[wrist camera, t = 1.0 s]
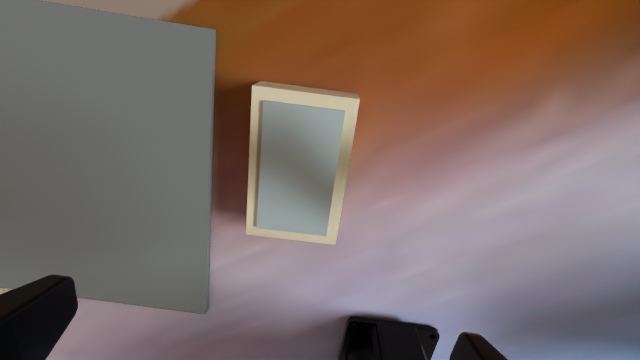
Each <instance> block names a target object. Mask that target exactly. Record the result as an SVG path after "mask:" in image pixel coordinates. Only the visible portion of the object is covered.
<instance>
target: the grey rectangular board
mask: <svg viewBox="0 0 640 360" xmlns="http://www.w3.org/2000/svg"><path fill="white" fill-rule="evenodd" d="M215 51H216V30H214V29H208V28H202V27H196V26H190V25H184V24H178V23H172V22H166V21H160V20H154V19H148V18H142V17H136V16H129V15H124V14H118V13H112V12H106V11H100V10H94V9H88V8H82V7H76V6H70V5H64V4H58V3H52V2H46V1H40V0H0V288H8V289H16V288H18V287H21V286H23V285H26V284H28V283H31V282H33V281H36V280H38V279H41V278H43V277H46V276H48V275H52V274H56V275H64V276H70V277H72V278H73V280H74V282H75V288H76V295H77V298H84V299H92V300H100V301H107V302H115V303H123V304H130V305H138V306H146V307H153V308H161V309H168V310H176V311H184V312H191V313H199V314H206V313H207V311H208V306H209V269H210V233H211V196H212V160H213V123H214V87H215Z"/></svg>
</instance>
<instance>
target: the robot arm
mask: <svg viewBox="0 0 640 360" xmlns="http://www.w3.org/2000/svg"><path fill="white" fill-rule="evenodd" d="M77 308H78V301H77V295H76V288H75V282H74V280H73V278H72V277H70V276H64V275H56V274H52V275H48V276H46V277H43V278H41V279H38V280H36V281H33V282H31V283H28V284H26V285H23V286H21V287H18V288H16V289H13V290H11V291H8V292H6V293H3V294H1V295H0V360H46V358H47V357H48V355H49V354H50V352H51V351H52V349H53V348H54V346H55V345H56V343H57V342H58V340H59V339H60V337H61V336H62V334H63V333H64V331H65V329H66V328H67V326H68V325H69V323H70V322H71V320H72V319H73V317H74V316H75V314H76V311H77ZM353 324H356V325H353ZM431 334H432V335H431ZM438 340H439V333H438V331H437V329H436V328H434V327H428V326H421V325H413V324H406V323H398V322H391V321H383V320H376V319H368V318H360V317H351V318H349V319H348V321H347V324H346V328H345V332H344V336H343V340H342V344H341V348H340V352H339V356H338V360H431V357H432V355H433V352H434V350H435V347H436V345H437V342H438ZM450 360H508V359H506V358H505V357H504V356H503V355H502V354H501V353H500V352H499V351H498V350H497V349H496V348H494V347H493V346H492V345H491V344H490V343H489V342H488V341H487V340H486V339H485V338H484V337H482V336H481V335H479V334H475V333H468V332H462V333H461V334H460V335H459V337H458V339H457V341H456V344H455V346H454V348H453V351H452V353H451V355H450Z"/></svg>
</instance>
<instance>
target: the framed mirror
mask: <svg viewBox="0 0 640 360" xmlns="http://www.w3.org/2000/svg"><path fill="white" fill-rule="evenodd" d="M359 101H360V99H359V97H358V96H357V94H356V93H350V92H342V91H334V90H326V89H319V88H311V87H303V86H295V85H288V84H280V83H272V82H265V81H260V82H258V83H256V84H254V85H252V97H251V121H250V146H249V170H248V195H247V219H246V234H247V235H255V236H264V237H273V238H281V239H290V240H298V241H307V242H316V243H324V244H333V245H336V239H337V233H338V227H339V221H340V215H341V209H342V203H343V197H344V191H345V185H346V179H347V173H348V167H349V161H350V155H351V149H352V143H353V137H354V131H355V125H356V119H357V113H358V107H359Z"/></svg>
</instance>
